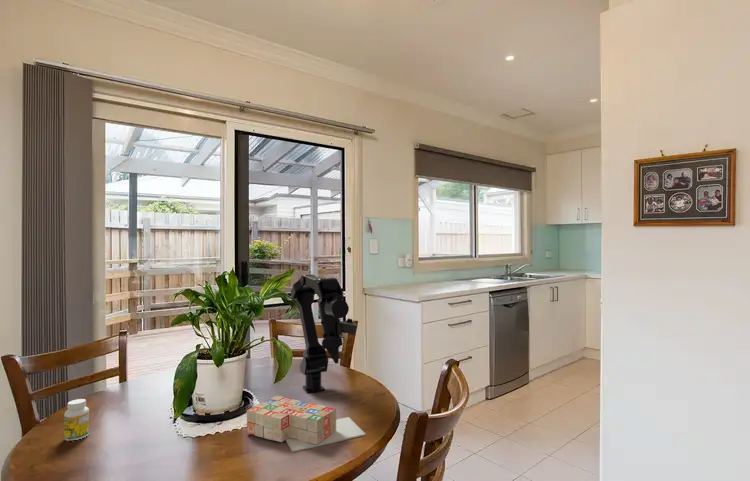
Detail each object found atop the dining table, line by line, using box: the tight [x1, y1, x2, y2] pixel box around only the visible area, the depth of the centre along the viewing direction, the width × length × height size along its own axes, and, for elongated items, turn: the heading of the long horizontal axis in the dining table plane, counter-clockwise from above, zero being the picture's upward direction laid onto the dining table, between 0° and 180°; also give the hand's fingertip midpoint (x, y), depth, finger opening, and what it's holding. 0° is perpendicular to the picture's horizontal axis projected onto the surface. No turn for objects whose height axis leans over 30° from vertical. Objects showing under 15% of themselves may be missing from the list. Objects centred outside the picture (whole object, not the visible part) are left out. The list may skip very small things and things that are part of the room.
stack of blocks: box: [246, 395, 337, 445], centre depth 110 cm, size 21×6×12 cm
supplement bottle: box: [63, 398, 90, 441], centre depth 108 cm, size 5×5×10 cm
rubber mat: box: [285, 416, 367, 453], centre depth 109 cm, size 12×20×1 cm, turn 116°
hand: (336, 363), depth 132 cm, fingers closed
